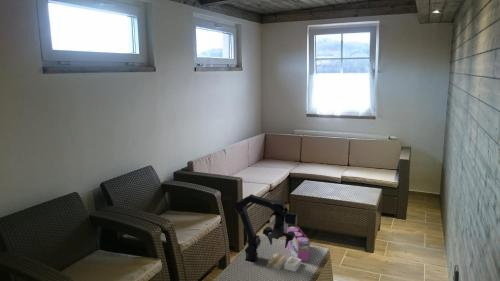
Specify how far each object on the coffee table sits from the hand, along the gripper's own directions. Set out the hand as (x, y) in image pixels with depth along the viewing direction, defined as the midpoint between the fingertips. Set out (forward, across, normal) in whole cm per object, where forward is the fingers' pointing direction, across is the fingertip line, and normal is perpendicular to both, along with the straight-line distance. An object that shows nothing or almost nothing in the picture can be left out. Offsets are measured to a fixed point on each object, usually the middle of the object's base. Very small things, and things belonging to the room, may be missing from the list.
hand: (278, 246), depth 225 cm
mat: (+12, -1, 0) cm, 12 cm away
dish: (+12, +9, +1) cm, 15 cm away
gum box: (+12, +7, +19) cm, 23 cm away
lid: (+11, -1, 0) cm, 11 cm away
